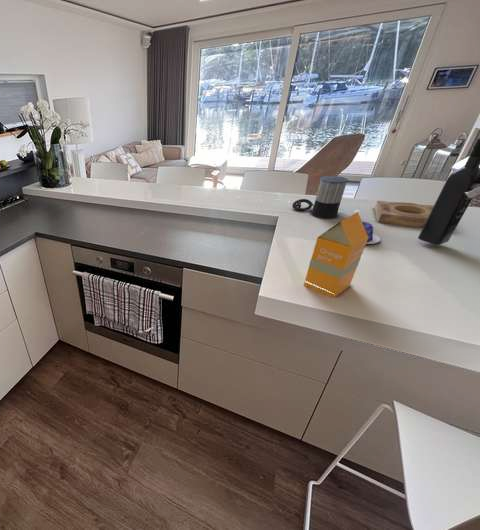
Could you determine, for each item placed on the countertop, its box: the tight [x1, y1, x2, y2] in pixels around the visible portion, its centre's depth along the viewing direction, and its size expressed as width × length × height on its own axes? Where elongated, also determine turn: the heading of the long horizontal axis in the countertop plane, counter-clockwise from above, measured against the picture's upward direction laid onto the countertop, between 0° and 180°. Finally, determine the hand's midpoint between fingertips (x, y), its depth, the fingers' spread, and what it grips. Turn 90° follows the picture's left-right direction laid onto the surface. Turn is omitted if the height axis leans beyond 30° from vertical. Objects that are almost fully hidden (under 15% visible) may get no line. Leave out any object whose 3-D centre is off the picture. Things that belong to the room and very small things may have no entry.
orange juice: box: [303, 212, 368, 299], centre depth 73 cm, size 8×9×20 cm
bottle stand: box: [374, 200, 435, 228], centre depth 109 cm, size 18×17×4 cm
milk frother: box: [292, 175, 349, 219], centre depth 118 cm, size 14×16×15 cm
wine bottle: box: [417, 137, 480, 246], centre depth 83 cm, size 6×6×30 cm
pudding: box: [362, 221, 381, 245], centre depth 98 cm, size 12×12×5 cm
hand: (455, 191), depth 83 cm, fingers closed on wine bottle, 7 cm apart
